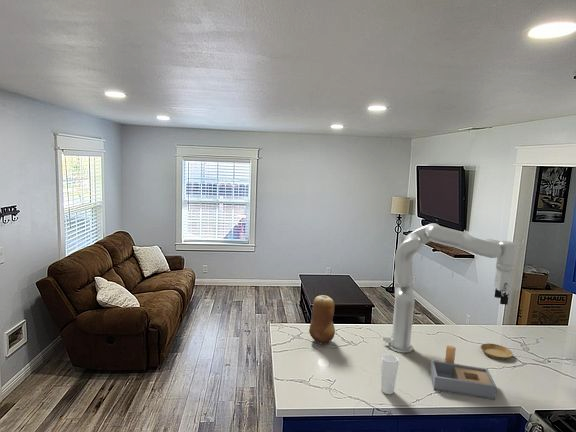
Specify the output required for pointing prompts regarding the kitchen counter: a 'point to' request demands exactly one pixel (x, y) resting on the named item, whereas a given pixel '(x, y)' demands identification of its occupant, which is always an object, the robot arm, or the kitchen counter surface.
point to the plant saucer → (496, 351)
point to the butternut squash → (322, 320)
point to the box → (462, 380)
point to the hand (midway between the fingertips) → (500, 300)
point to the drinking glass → (388, 373)
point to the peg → (450, 354)
